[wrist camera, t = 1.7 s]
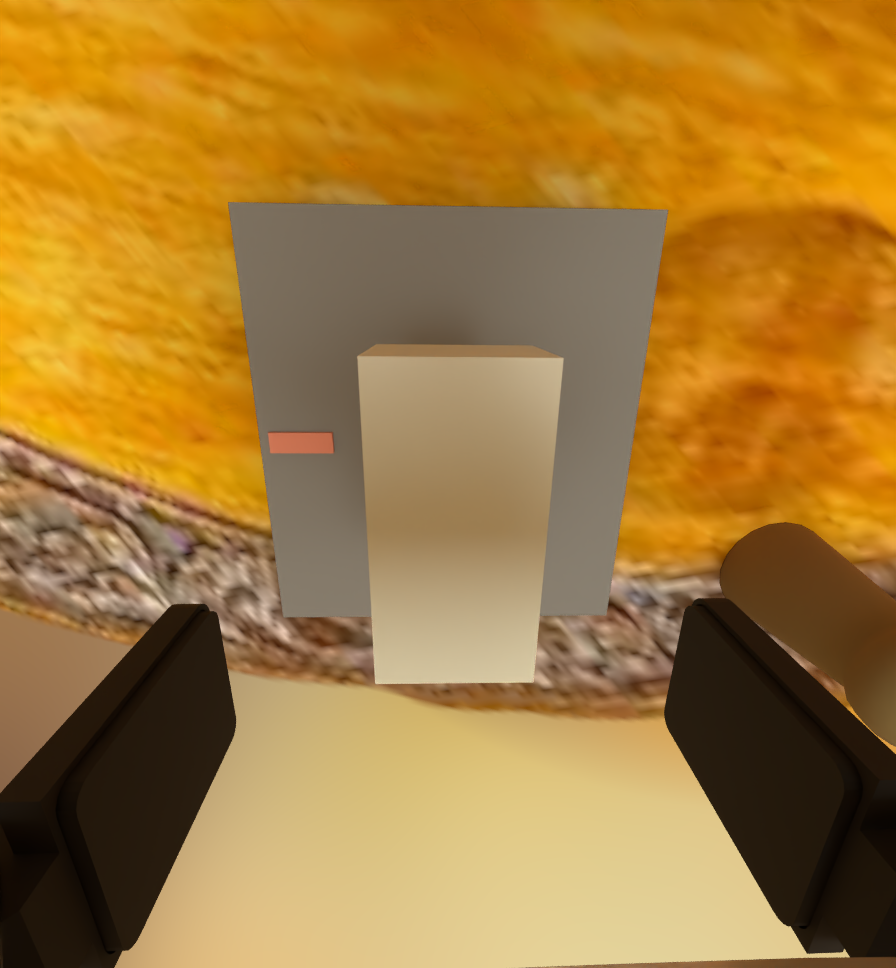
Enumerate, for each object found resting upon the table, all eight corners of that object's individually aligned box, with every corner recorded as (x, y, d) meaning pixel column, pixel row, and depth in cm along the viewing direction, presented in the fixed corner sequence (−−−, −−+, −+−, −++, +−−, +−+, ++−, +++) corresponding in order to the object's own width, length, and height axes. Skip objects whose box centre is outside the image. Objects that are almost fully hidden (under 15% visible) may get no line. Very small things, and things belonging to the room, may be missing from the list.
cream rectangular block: (372, 338, 18) (336, 355, 11) (530, 339, 18) (584, 357, 12) (383, 578, 22) (360, 696, 15) (513, 577, 22) (547, 694, 15)
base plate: (242, 209, 20) (192, 184, 16) (652, 216, 21) (707, 193, 17) (291, 601, 28) (264, 654, 23) (597, 599, 28) (626, 651, 24)
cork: (755, 509, 26) (962, 639, 16) (845, 540, 27) (1098, 684, 17) (700, 597, 28) (853, 764, 18) (786, 623, 29) (979, 798, 19)
